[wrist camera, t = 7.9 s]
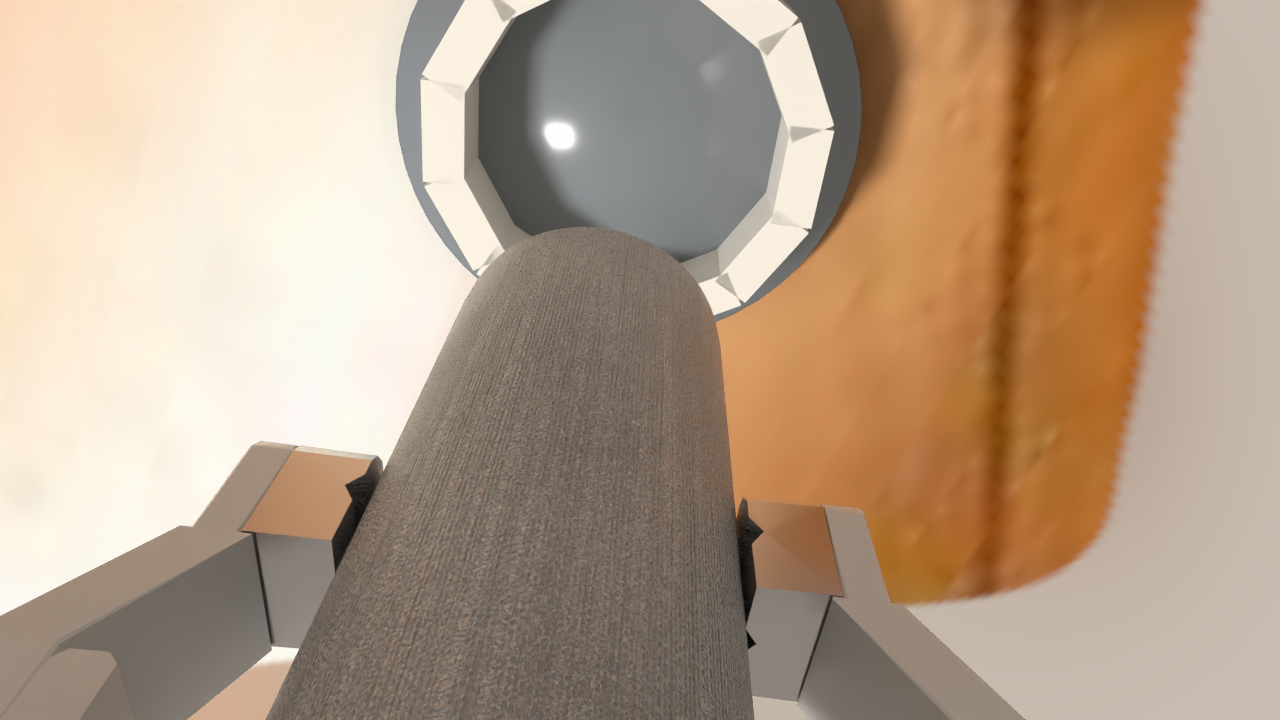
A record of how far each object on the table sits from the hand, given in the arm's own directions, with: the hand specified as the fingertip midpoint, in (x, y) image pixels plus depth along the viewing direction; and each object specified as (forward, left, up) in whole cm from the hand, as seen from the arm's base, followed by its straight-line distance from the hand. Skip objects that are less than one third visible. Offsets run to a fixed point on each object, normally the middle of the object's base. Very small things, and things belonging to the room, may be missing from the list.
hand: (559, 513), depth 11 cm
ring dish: (0, 0, -18) cm, 18 cm away
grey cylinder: (0, 0, -5) cm, 5 cm away
